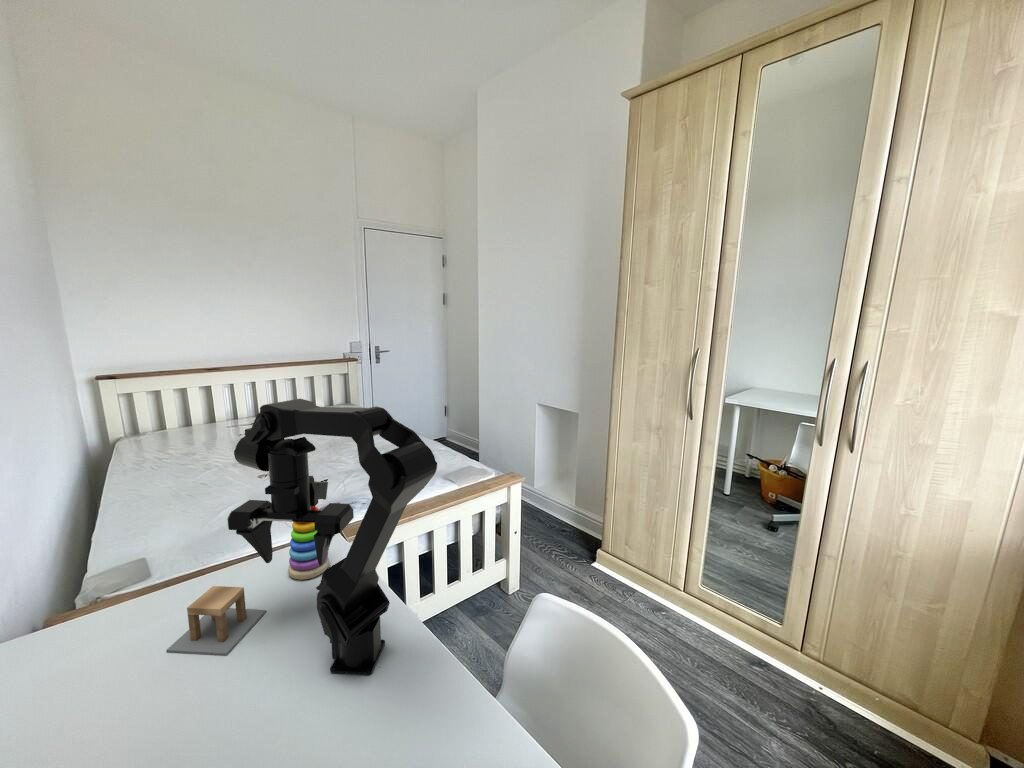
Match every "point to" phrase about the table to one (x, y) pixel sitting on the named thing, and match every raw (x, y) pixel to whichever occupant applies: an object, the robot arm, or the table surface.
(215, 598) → the stool
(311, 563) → the stacking toy
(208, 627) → the mat
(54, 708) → the table surface
